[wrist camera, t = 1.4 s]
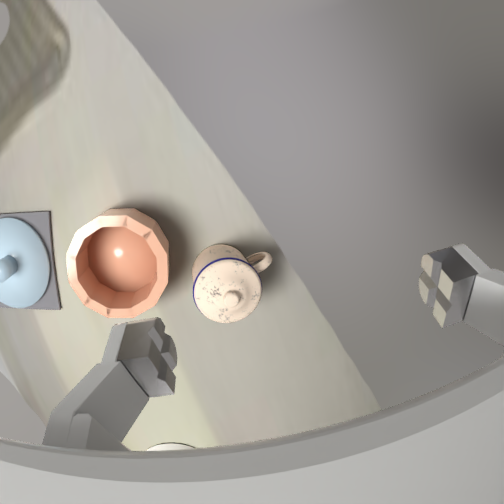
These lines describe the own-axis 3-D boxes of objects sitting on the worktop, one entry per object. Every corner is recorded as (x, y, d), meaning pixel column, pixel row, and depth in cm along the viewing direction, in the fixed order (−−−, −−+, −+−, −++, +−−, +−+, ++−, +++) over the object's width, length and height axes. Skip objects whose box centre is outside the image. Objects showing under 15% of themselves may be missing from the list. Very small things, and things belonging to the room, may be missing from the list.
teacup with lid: (209, 308, 51) (218, 345, 40) (179, 261, 48) (179, 290, 37) (274, 270, 52) (299, 298, 41) (247, 221, 49) (268, 238, 38)
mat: (61, 308, 45) (59, 309, 45) (-11, 304, 42) (-13, 306, 41) (49, 211, 41) (48, 211, 41) (-25, 215, 38) (-27, 216, 37)
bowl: (170, 297, 49) (169, 317, 42) (86, 297, 46) (74, 317, 39) (168, 207, 45) (166, 214, 39) (78, 209, 42) (62, 217, 36)
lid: (56, 307, 45) (46, 320, 40) (-12, 303, 41) (-24, 315, 36) (45, 215, 41) (32, 220, 36) (-25, 219, 37) (-41, 225, 33)
